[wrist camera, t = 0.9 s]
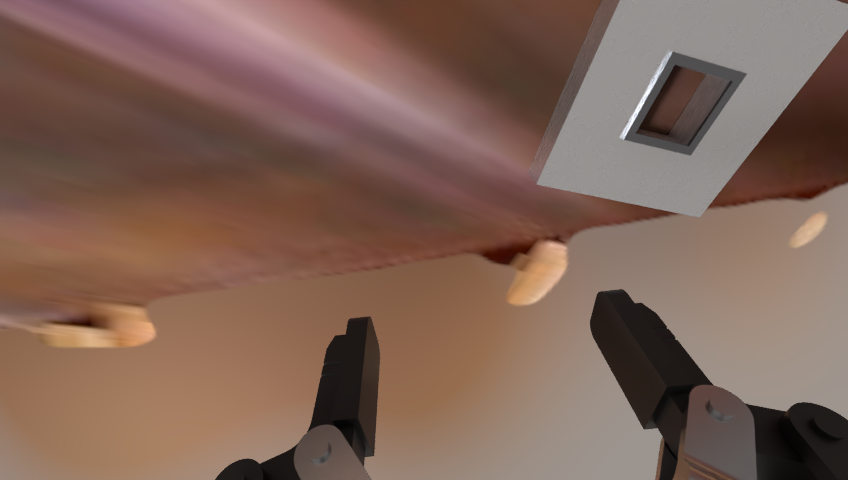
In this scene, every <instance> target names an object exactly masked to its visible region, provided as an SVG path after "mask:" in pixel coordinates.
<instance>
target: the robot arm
mask: <svg viewBox="0 0 848 480" xmlns="http://www.w3.org/2000/svg"><path fill="white" fill-rule="evenodd" d="M590 328H591V332H592V335H593V338H594V340H595V341H596V343H597V345H598V347H599V349H600V350H601V352H602V354H603V356H604V358H605V360H606V361H607V363H608V365H609V367H610V368H611V371H612V372H613V374H614V376H615V378H616V380H617V381H618V383H619V385H620V387H621V388H622V390H623V392H624V394H625V396H626V398H627V399H628V401H629V403H630V405H631V407H632V409H633V410H634V412H635V414H636V416H637V418H638V420H639V421H640V423H641V425H642V427H643V429H653V428H658V429H659V431H660V433H661V434H662V436H663V437H662V439H661V443H660V450H659V457H658V464H657V470H656V477H655V480H848V420H847V419H845V418H844V417H842V416H841V415H839V414H838V413H836V412H834V411H832V410H830V409H828V408H826V407H823V406H820V405H817V404H813V403H805V402H802V403H797V404H794V405H793V406H791V407H790V408H789V410H787V412H785V411H780V410H775V409H769V408H764V407H759V406H753V405H748V404H745V403H744V402H742V400H741V399H739V398H738V397H737V396H735V395H734V394H732V393H731V392H729V391H727V390H725V389H723V388H720V387H717V386H714V385H713V384H712V383H711V382H710V381H709V380H708V378H707V377H706V376H705V375H704V373H703V372H702V371H701V369H700V368H699V367H698V366H697V364H696V363H695V362H694V361H693V359H692V358H691V357H690V356H689V354H688V353H687V352H686V350H685V349H684V348H683V347H682V345H681V344H680V343H679V342H678V340H675V336H674V335H673V334H672V333H671V331H670V330H669V329H667V326H666V325H665V324H664V322H663V321H662V320H661V319H660V317H659V316H658V315H657V314H656V313H655V312H654V311H652V310H651V309H649V308H648V307H646V306H645V305H644V304H642V303H634V302H633V301H632V299H631V298H630V297H629V295H628V294H627V293H626V292H625V291H624V290H622V289H619V290H610V291H601V292H599V293H598V294H597V297H596V300H595V305H594V308H593V312H592V316H591V320H590ZM379 365H380V352H379V344H378V340H377V337H376V333H375V330H374V326H373V322H372V319H371V317H361V318H352V319H349V320H348V324H347V330H346V335H338V336H335V337H334V338H333V340H332V342H331V343H330V345H329V346H328V348H327V350H326V355H325V359H324V366H323V369H322V374H321V375H322V377H321V379H320V383H319V388H318V393H317V398H316V402H315V407H314V412H313V417H312V421H311V425H310V427H309V430H308V431H307V433H306V434H305V435H304V436H303V438H302V439H301V440H300V441H299V443H298V444H297V445H296V446H295V447H293V448H292V449H290V450H288V451H287V452H285V453H282V454H280V455H278V456H276V457H274V458H271V459H269V460H267V461H265V462H263V463H261V464H259V463H258V462H256V461H255V460H253V459H242V460H238V461H236V462H234V463H232V464H231V465H229V466H228V467H226V468H225V469H224V470H223V471H222V472H221V473H220V474H219V475H218V476H217V478H216V479H215V480H372V479H371V478H370V476H369V475H368V473H367V472H366V470H365V468H364V459H365V457H369V456H374V449H375V432H376V415H377V398H378V382H379Z"/></svg>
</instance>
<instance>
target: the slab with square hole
mask: <svg viewBox="0 0 848 480" xmlns="http://www.w3.org/2000/svg"><path fill="white" fill-rule="evenodd" d="M847 29H848V4H845V3H842V2H840V1H837V0H601V3H600V5H599V7H598V10H597V12H596V14H595V17H594V19H593V21H592V24H591V26H590V28H589V31H588V33H587V35H586V38H585V40H584V42H583V45H582V47H581V49H580V52H579V54H578V56H577V59H576V61H575V63H574V66H573V68H572V70H571V73H570V75H569V77H568V80H567V82H566V84H565V87H564V89H563V91H562V94H561V96H560V98H559V101H558V103H557V105H556V108H555V110H554V112H553V115H552V117H551V119H550V122H549V124H548V126H547V129H546V131H545V133H544V136H543V138H542V140H541V143H540V145H539V147H538V150H537V152H536V154H535V157H534V159H533V161H532V163H531V166H530V168H529V170H528V173H529V175H530V176H531V178H532V179H533V180H534V182H535V183H536V184H537V185H542V186H547V187H552V188H557V189H562V190H567V191H572V192H576V193H581V194H586V195H591V196H596V197H601V198H606V199H611V200H616V201H621V202H626V203H631V204H636V205H640V206H645V207H650V208H655V209H660V210H665V211H670V212H675V213H680V214H685V215H690V216H695V217H700V216H701V215H702V213H703V212H704V211H705V210H706V209H707V207H708V206H709V205H710V203H711V202H712V201H713V200H714V198H715V197H716V196H717V195H718V193H719V192H720V191H721V189H722V188H723V187H724V186H725V184H726V183H727V182H728V181H729V179H730V178H731V177H732V176H733V174H734V173H735V172H736V170H737V169H738V168H739V167H740V165H741V164H742V163H743V162H744V160H745V159H746V158H747V156H748V155H749V154H750V153H751V151H752V150H753V149H754V148H755V146H756V145H757V144H758V142H759V141H760V140H761V139H762V137H763V136H764V135H765V134H766V132H767V131H768V130H769V128H770V127H771V126H772V125H773V123H774V122H775V121H776V120H777V118H778V117H779V116H780V115H781V113H782V112H783V111H784V109H785V108H786V107H787V106H788V104H789V103H790V102H791V101H792V99H793V98H794V97H795V95H796V94H797V93H798V92H799V90H800V89H801V88H802V87H803V85H804V84H805V83H806V81H807V80H808V79H809V78H810V76H811V75H812V74H813V73H814V71H815V70H816V69H817V67H818V66H819V65H820V64H821V62H822V61H823V60H824V59H825V57H826V56H827V55H828V54H829V52H830V51H831V50H832V48H833V47H834V46H835V45H836V43H837V42H838V41H839V40H840V38H841V37H842V36H843V34H844V33H845V32H846V31H847ZM674 66H679V67H682V68H686V69H689V70H693V71H696V72H700V73H703V74H706V76H705V77H704V79H703V80H702V82H701V84H700V85H699V87H698V88H697V90H696V91H695V93H694V95H693V96H692V98H691V99H690V101H689V103H688V104H687V106H686V107H685V109H684V111H683V112H682V114H681V115H680V117H679V118H678V120H677V122H676V123H675V125H674V126H673V128H672V130H671V131H670V133H669V134H668V135H665V134H661V133H657V132H653V131H648V130H644V129H640V128H639V126H640V125H641V123H642V121H643V120H644V118H645V116H646V114H647V113H648V111H649V109H650V107H651V106H652V104H653V102H654V100H655V99H656V97H657V95H658V94H659V92H660V90H661V88H662V87H663V85H664V83H665V81H666V80H667V78H668V76H669V74H670V73H671V71H672V69H673V67H674Z"/></svg>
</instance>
